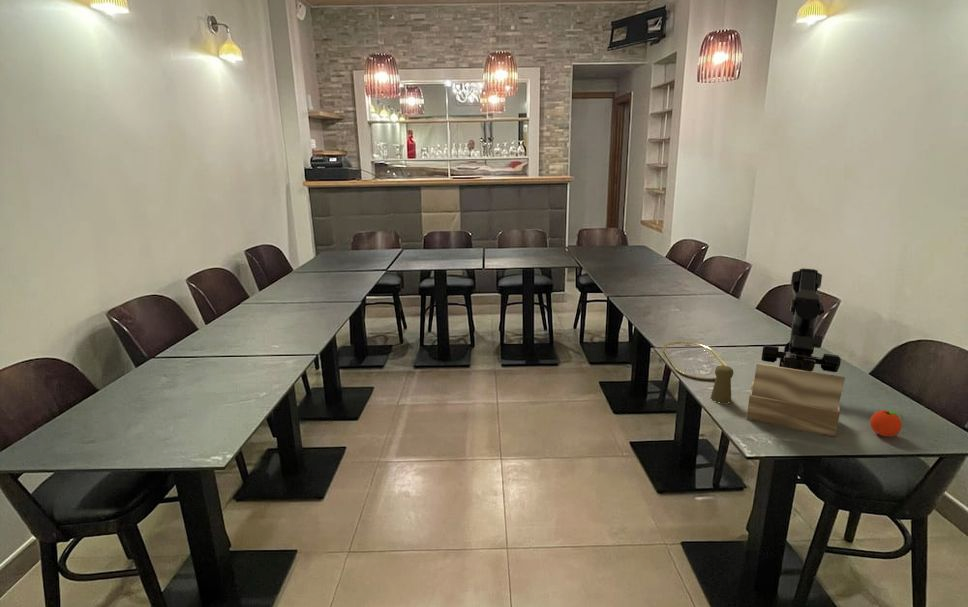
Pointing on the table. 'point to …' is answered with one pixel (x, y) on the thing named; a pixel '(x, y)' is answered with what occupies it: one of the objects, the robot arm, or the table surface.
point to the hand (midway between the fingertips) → (796, 386)
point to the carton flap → (798, 386)
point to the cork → (722, 384)
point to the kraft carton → (793, 415)
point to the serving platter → (695, 344)
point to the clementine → (886, 423)
